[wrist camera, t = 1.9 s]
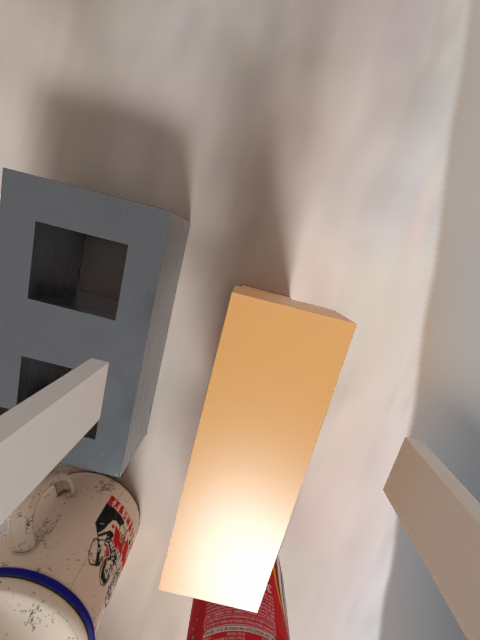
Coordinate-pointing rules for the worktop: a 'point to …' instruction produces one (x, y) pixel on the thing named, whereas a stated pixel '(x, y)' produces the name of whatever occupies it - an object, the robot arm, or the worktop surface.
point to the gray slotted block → (85, 305)
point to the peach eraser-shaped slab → (253, 444)
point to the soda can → (243, 616)
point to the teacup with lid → (64, 557)
